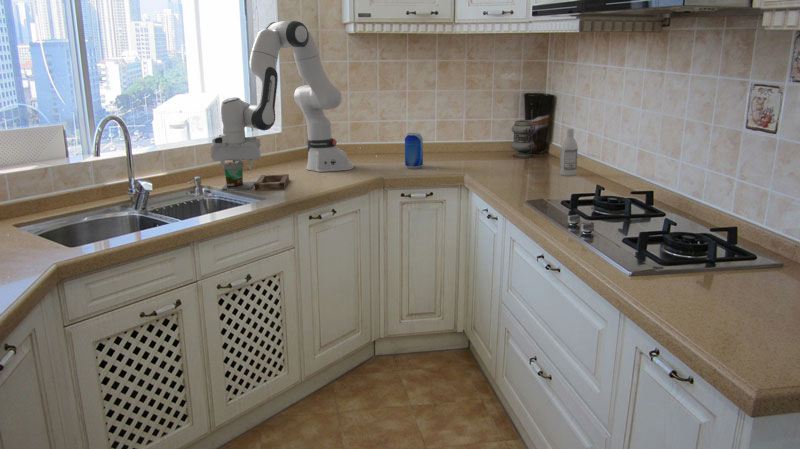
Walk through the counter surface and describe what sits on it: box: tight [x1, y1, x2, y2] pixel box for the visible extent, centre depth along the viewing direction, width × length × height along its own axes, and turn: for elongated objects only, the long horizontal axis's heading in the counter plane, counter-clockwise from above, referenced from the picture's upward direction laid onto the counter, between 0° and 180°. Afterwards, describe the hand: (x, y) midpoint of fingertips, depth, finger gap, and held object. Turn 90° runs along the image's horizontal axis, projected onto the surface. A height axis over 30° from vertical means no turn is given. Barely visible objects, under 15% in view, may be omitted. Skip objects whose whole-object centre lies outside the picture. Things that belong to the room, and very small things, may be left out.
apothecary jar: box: [510, 119, 536, 159], centre depth 323 cm, size 12×12×18 cm
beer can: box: [404, 132, 424, 170], centre depth 302 cm, size 8×8×16 cm
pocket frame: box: [254, 173, 290, 191], centre depth 274 cm, size 12×18×2 cm, turn 3°
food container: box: [223, 160, 245, 188], centre depth 271 cm, size 12×6×10 cm, turn 175°
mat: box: [221, 181, 256, 191], centre depth 272 cm, size 12×12×1 cm
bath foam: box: [559, 128, 579, 177], centre depth 279 cm, size 7×7×20 cm
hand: (237, 170), depth 271 cm, fingers open, 8 cm apart
